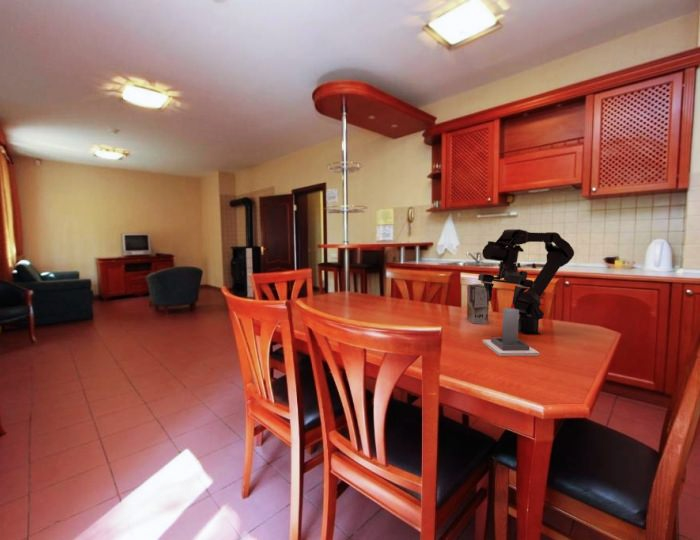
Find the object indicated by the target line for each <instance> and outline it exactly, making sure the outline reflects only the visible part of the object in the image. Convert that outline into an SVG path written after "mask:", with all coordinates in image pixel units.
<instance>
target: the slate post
mask: <svg viewBox="0 0 700 540" xmlns="http://www.w3.org/2000/svg"><path fill="white" fill-rule="evenodd" d="M518 322H519V310H518V309H515V308H514V307H513V308H512V307H506V308H505V307H504V308H503V309H502V327H501V328H502V331H501V337H502V344H504V345H517V341H518V339H519V338H518V337H519V331H518Z"/></svg>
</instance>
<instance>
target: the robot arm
mask: <svg viewBox="0 0 700 540" xmlns="http://www.w3.org/2000/svg"><path fill="white" fill-rule="evenodd" d="M527 243H544V249H545V250H546V252H547V254H546V262H545V264H544V265H543V267H542V269H541V270H540V272H538V274H537V276H536V277H535V279H534V280H532V279H528V272H527V271H525V270H521V271H519V270H518V267H519V266H517V265H518V264H517V263H518V258H519V252H520V253H524V249H523V248H522V246H521V245H524V244H527ZM481 254H482V258H484V259H485V260H489V261H496V262H497V261H498V262H499V263H498V265H497V266H498V273H497V274H496V276H494V274H490V273H479V275H478V278H477V280H478V281H480V282H481V284H482V285H484V286H485V289H486V292H487V296H488V300H489V302H491V301H492V295H493V294H492V293H493V287H494V285H495V283H493V282H498V283H504V284H511V285H514V291H513V297H512V304H513V309H518V310H519V322H518V332H520V333H522V334H525V335H539V334H541V332H540V331H539V323H540V320H542V319H543V317H544V315H545V313H544V312H543V311H542V309H541V308H540V306H541V296H542V295H543V293H544V292H545V291H546V289H547V287H548V286H549V284H550V283H551V281H552V279H553V278H554V277H555V275H556V273H557V272H558V271H559V270H560V268H561V267H564V266H566V265H567V264H568V263H569V262H570V261H571V260H572V259H573V257H574V256H575V250H574V248H573V247H572V246H571V244H570V243H569V242H568V241H566V240H565V239H564V238H563V237H561V235H560V233H558V232H556V231H554V232H553V231H547V232H530V231H527V230H526V229H525V230H524V229H520V228H519V229H518V228H516V229H513V228H512V229H511V228H510V229H504V230H503V231H502V233H501V235H500V236H499V237H498V239H497V240H496V241H491V240H489V241H487V244H486V245H485V246H484V247H483V249H482V253H481Z"/></svg>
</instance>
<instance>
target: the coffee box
mask: <svg viewBox="0 0 700 540" xmlns="http://www.w3.org/2000/svg"><path fill="white" fill-rule="evenodd" d="M489 303H490V301H489V300H488V296H487V292H486V289H485V286H484V284H483V283H481V284H478V283H475V284H473V283H472V284H468V287H467V311H466V313H467V314H466V319H467V320H468V321H470V322H471V323H473V324H475V325H476V324H477V325H481V324H482V325H487V324H488V323H489V308H490V307H489V306H490V304H489Z"/></svg>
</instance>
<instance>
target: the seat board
mask: <svg viewBox="0 0 700 540" xmlns="http://www.w3.org/2000/svg"><path fill="white" fill-rule="evenodd" d="M481 341H482V344H483V345H485V346H487V348H489V349H490V350H491V351H492V352H493V353H495V354H496V355H497V356H499V357H507V356H508V357H526V356H527V357H528V356H529V357H531V356H532V357H536V356H537V357H538V356H540V352H539V351H537V350H536V349H534V348H533V347H531V346H530V345H529V344H527V343H525V342H524V341H522V340H521V339H520V338H518V341H517V345H504V344H502V336H501V337H490V339H482V340H481Z"/></svg>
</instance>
